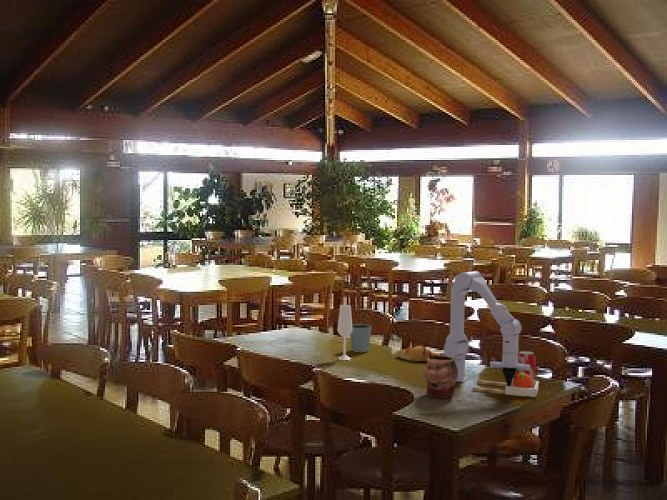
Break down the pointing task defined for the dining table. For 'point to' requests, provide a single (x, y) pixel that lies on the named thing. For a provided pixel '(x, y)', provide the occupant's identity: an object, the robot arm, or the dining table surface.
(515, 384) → the clementine
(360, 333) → the drinking glass
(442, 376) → the decorative planter
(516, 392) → the white arch
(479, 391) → the lane rails
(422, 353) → the croissant
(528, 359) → the soda can
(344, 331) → the champagne flute
